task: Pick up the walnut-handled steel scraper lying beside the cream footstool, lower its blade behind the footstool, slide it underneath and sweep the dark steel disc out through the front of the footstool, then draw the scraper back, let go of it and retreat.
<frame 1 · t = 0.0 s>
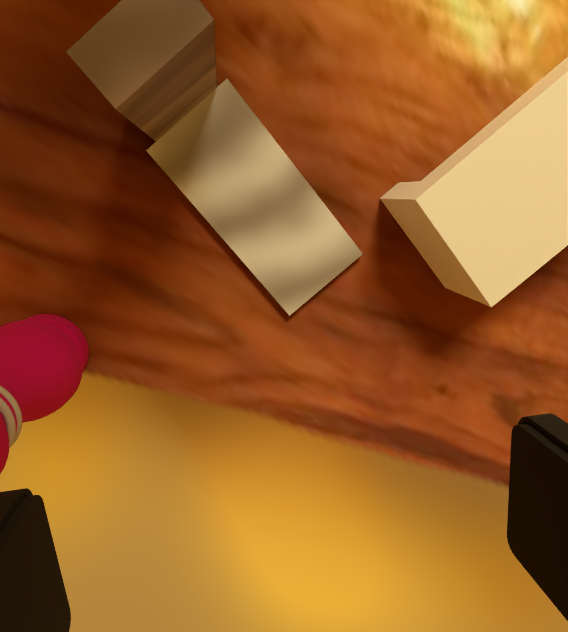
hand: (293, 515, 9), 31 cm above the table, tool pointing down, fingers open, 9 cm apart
pepper mill: (50, 349, 39), on the table
cream footstool: (534, 143, 40), on the table
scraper: (173, 99, 36), on the table
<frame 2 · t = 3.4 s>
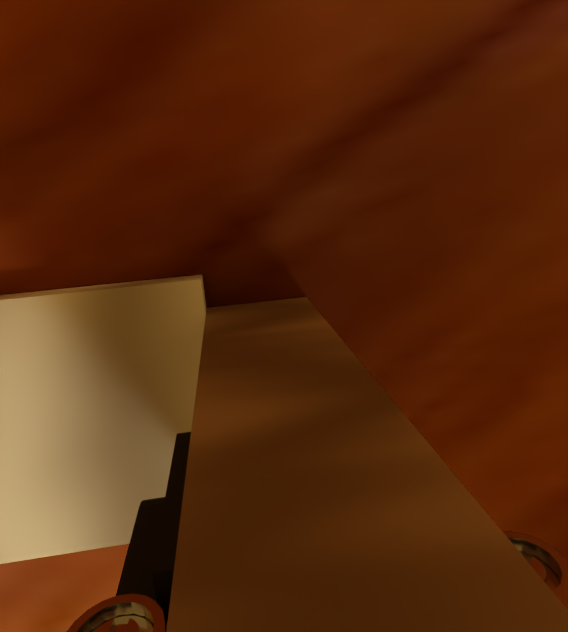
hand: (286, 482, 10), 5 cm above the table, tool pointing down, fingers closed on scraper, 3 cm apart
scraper: (266, 394, 15), on the table, touching gripper
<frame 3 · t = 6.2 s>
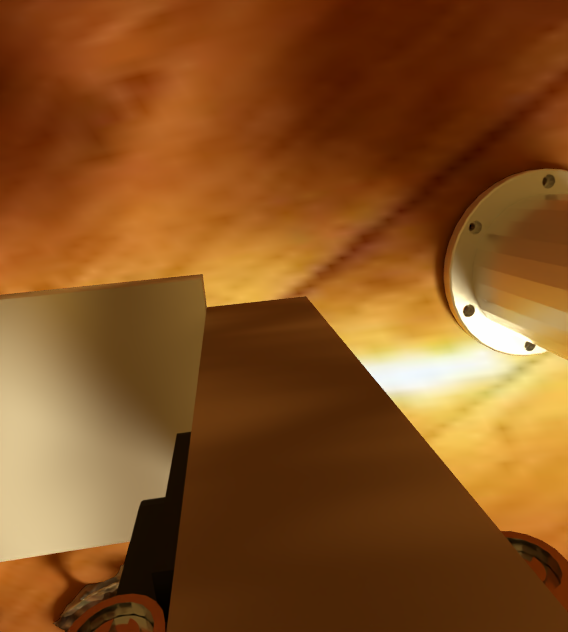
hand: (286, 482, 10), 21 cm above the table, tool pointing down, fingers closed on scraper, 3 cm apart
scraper: (266, 393, 15), point 16 cm above the table, touching gripper
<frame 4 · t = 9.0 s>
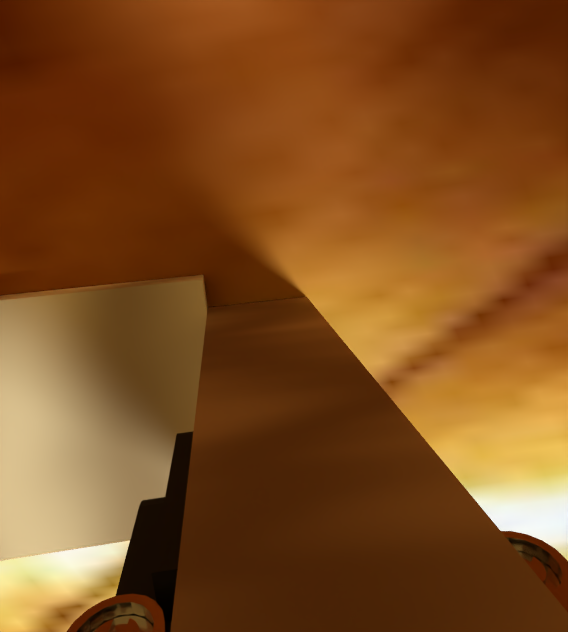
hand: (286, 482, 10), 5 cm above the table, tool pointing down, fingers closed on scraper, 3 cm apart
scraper: (266, 393, 15), on the table, touching gripper
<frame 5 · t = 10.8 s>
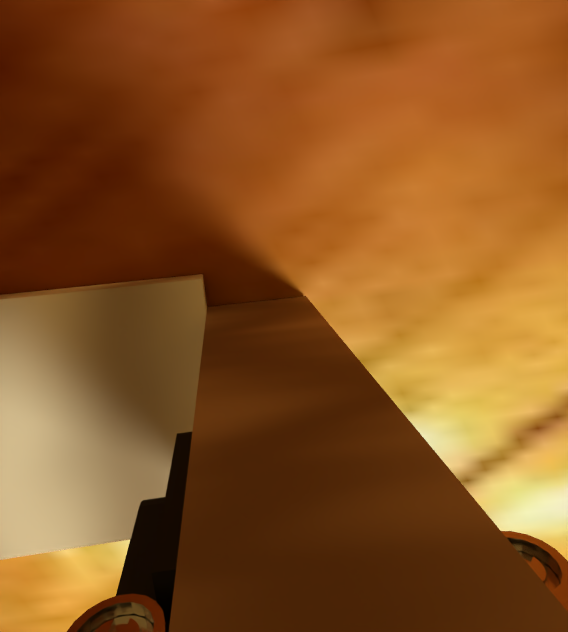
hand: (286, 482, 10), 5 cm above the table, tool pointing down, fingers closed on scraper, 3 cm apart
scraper: (266, 392, 15), on the table, touching gripper
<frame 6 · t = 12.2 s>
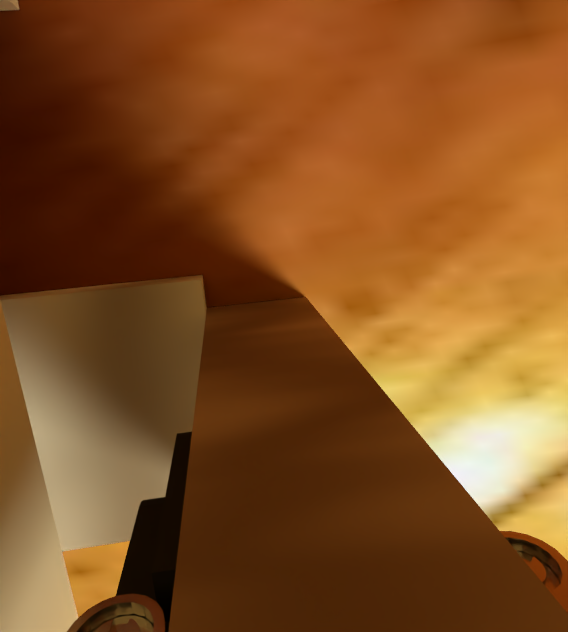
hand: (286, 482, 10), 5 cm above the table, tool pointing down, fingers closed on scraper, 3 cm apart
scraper: (265, 393, 15), on the table, touching gripper
when the fingers open (5 cm above the table, at t = 14.6 s): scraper stays where it is, on the table.
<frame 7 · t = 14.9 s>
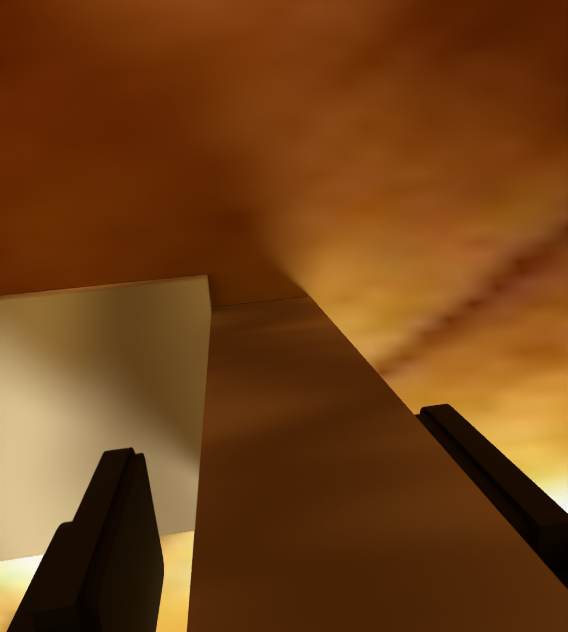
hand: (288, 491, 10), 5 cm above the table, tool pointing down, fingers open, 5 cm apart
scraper: (270, 392, 15), on the table
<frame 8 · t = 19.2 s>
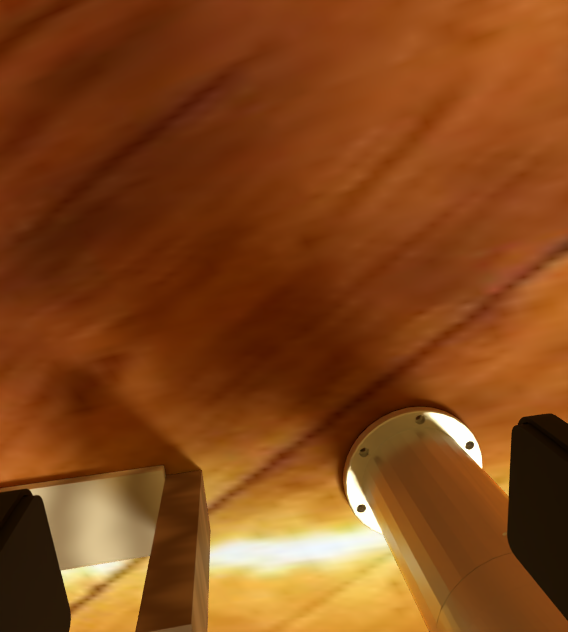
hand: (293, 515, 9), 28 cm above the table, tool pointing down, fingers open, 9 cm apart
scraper: (188, 503, 41), on the table
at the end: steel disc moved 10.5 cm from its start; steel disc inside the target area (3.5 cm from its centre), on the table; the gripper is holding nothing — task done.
